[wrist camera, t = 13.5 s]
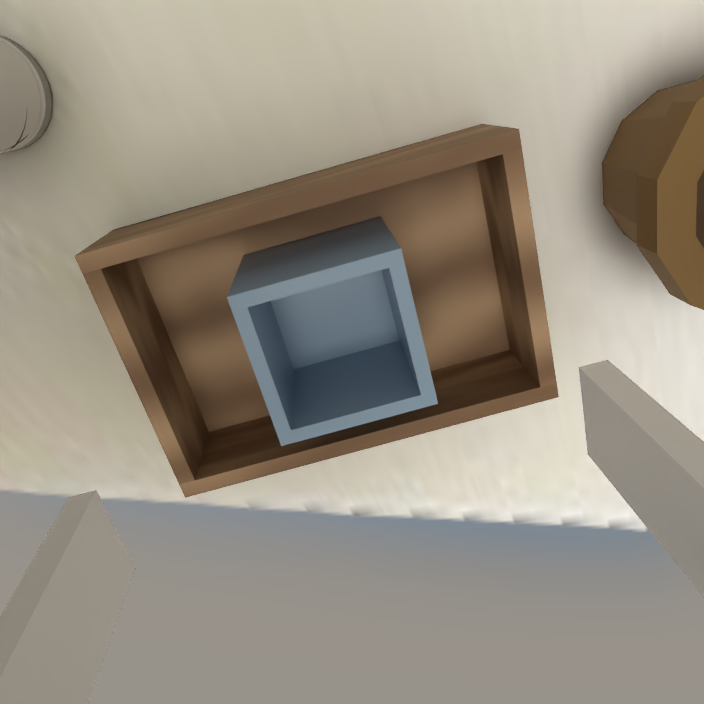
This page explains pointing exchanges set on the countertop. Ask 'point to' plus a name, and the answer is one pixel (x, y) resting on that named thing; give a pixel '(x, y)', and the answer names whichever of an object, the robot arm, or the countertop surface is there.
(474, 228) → the walnut crate
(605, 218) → the countertop surface
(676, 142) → the flowerpot
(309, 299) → the slate crate
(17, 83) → the travel mug
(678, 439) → the robot arm
